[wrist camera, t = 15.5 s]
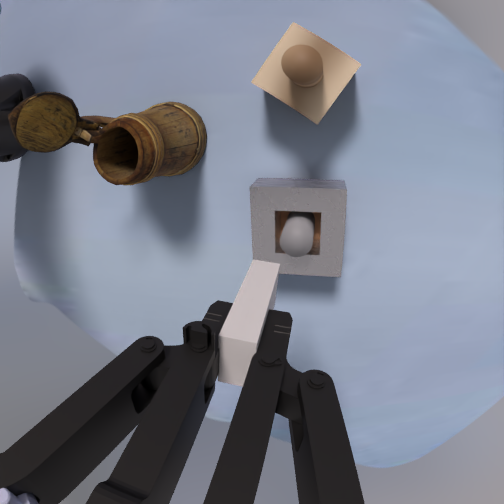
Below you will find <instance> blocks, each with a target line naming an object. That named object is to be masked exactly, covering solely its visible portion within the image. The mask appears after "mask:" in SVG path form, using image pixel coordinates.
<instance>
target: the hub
mask: <svg viewBox="0 0 504 504" xmlns="http://www.w3.org/2000/svg"><path fill="white" fill-rule="evenodd" d="M320 235H321V212H300V211H281V237H280V246H281V248H282V250H283V251H284V252H285V253H286V254H288V255H290V256H292V257H301V256H304V255H306V254H307V253H308V252H309V251H310V250H311V248H312V245H313V239H315V240H320Z"/></svg>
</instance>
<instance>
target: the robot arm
mask: <svg viewBox="0 0 504 504" xmlns="http://www.w3.org/2000/svg"><path fill="white" fill-rule="evenodd" d="M0 13H1V4H0ZM34 94H35V92H34V89H33V86H32V84H31V82H30V81H29V80H28V78H26V77H25V76H24V75H22V74H8V75H4V76H2V77H0V162H8V161H12V160H14V159H18V158H20V157H21V156H23V155H24V154H25V153H26V151H27V149H25V148H22V147H21V146H20V145H19V144H18V142H17V141H16V139H15V137H14V135H13V132H12V130H11V127H10V123H9V119H8V115H9V114H10V112H11V111H12V110H13V109H14V108H15V107H16V106H17V105H19V104H20V103H21V102H22V101H23V100H25V99H26V98H28V97H30V96H32V95H34ZM279 269H280V264H278V263H272V262H266V261H260V260H254V259H253V261H252V263H251V265H250V268H249V270H248V272H247V274H246V276H245V279H244V281H243V283H242V285H241V287H240V290H239V292H238V294H237V296H236V298H235V301H234V303H229V302H224V301H216V302H215V303H213V304H212V305H211V306H210V307H209V309H208V311H207V313H206V315H205V316H204V319H203V320H202V321H195V322H190V323H188V324H186V325H185V326H184V327H183V338H184V344H182V345H177V346H164V344H163V342H162V340H160V339H159V338H157V337H154V336H145V337H141V338H139V339H138V340H136V341H135V342H134V343H133V344H131V345H130V346H129V347H128V348H127V349H125V350H124V351H123V352H122V353H121V354H120V355H118V356H117V357H116V358H115V359H114V360H113V361H111V362H110V363H109V364H108V365H106V366H105V367H104V368H103V369H102V370H101V371H99V372H98V373H97V374H96V375H95V376H93V377H92V378H91V379H90V380H89V381H88V382H86V383H85V384H84V385H83V386H82V387H81V388H79V389H78V390H77V391H76V392H74V393H73V394H72V395H71V396H70V397H69V398H67V399H66V400H65V401H64V402H63V403H61V404H60V405H59V406H58V407H57V408H56V409H55V410H53V411H52V412H51V413H50V414H48V415H47V416H46V417H45V418H44V419H43V420H41V421H40V422H39V423H38V424H37V425H36V426H34V427H33V428H32V429H31V430H30V431H29V432H27V433H26V434H25V435H24V436H23V437H21V438H20V439H19V440H18V441H17V442H16V443H14V444H13V445H12V446H11V447H10V448H9V449H7V450H6V451H5V452H3V453H0V504H58V503H60V502H61V501H62V500H63V499H64V498H66V497H67V496H68V495H69V494H70V493H71V492H72V491H73V490H74V489H75V488H76V487H77V486H78V485H79V484H80V483H81V482H82V481H83V480H84V479H85V478H86V477H87V476H88V475H89V474H90V473H91V472H92V471H93V470H94V469H95V468H96V467H97V466H98V465H99V464H100V463H101V462H102V461H103V460H104V459H105V458H106V457H107V456H108V455H109V454H110V453H111V452H112V451H113V450H114V448H115V447H117V445H118V444H119V443H120V442H121V441H122V440H123V439H124V438H125V437H126V436H127V435H128V434H129V433H130V432H131V431H132V430H133V429H134V428H135V427H136V426H137V425H138V426H137V428H136V430H135V432H134V433H133V435H132V437H131V439H130V441H129V443H128V444H127V446H126V448H125V450H124V452H123V453H122V455H121V457H120V459H119V461H118V463H117V465H116V467H115V468H114V470H113V472H112V474H111V476H110V477H109V479H108V480H107V481H104V482H100V483H99V484H98V485H97V486H96V487H95V489H94V490H93V492H92V493H91V495H90V497H89V499H88V501H87V502H86V504H169V502H170V500H171V497H172V495H173V493H174V490H175V488H176V485H177V483H178V481H179V478H180V476H181V473H182V471H183V468H184V466H185V463H186V461H187V458H188V456H189V453H190V451H191V448H192V446H193V444H194V441H195V438H196V436H197V434H198V431H199V428H200V426H201V424H202V421H203V418H204V416H205V413H206V411H207V408H208V406H209V403H210V401H211V398H212V396H213V393H214V391H215V381H216V378H217V376H218V381H220V382H224V383H229V384H233V385H238V386H243V388H242V391H241V394H240V397H239V400H238V403H237V406H236V409H235V412H234V415H233V418H232V421H231V425H230V428H229V431H228V434H227V437H226V440H225V443H224V445H223V448H222V451H221V454H220V457H219V460H218V463H217V466H216V469H215V472H214V475H213V478H212V480H211V483H210V486H209V489H208V492H207V495H206V498H205V500H204V503H203V504H253V503H254V500H255V495H256V492H257V488H258V483H259V480H260V475H261V472H262V467H263V463H264V459H265V455H266V450H267V446H268V442H269V437H270V433H271V428H272V424H273V419H274V415H275V413H277V414H280V415H282V416H284V417H286V418H288V419H289V427H290V435H291V443H292V450H293V458H294V465H295V474H296V482H297V490H298V498H299V504H364V500H363V495H362V491H361V487H360V482H359V479H358V474H357V470H356V466H355V462H354V458H353V454H352V450H351V446H350V442H349V438H348V435H347V431H346V427H345V423H344V419H343V416H342V412H341V408H340V404H339V401H338V397H337V393H336V390H335V386H334V383H333V380H332V378H331V377H330V376H329V375H328V374H327V373H325V372H323V371H320V370H309V371H306V372H304V373H302V372H299V371H297V370H295V369H293V368H292V367H291V366H290V365H289V363H288V362H287V359H286V354H287V349H288V344H289V338H290V332H291V327H292V321H293V320H292V317H291V315H290V313H288V312H282V311H277V310H273V309H274V305H275V299H276V291H277V284H278V277H279Z"/></svg>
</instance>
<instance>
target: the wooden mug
mask: <svg viewBox="0 0 504 504" xmlns="http://www.w3.org/2000/svg"><path fill="white" fill-rule="evenodd" d="M8 119H9V123H10V127H11V130H12V132H13V135H14V137H15V139H16V141H17V142H18V144H19V145H20V146H21V147H22V148H25V149H27V150H30V151H34V152H52V151H56V150H58V149H60V148H62V147H64V146H66V145H67V144H69V143H71V142H74V143H80V144H84V145H87V146H89V145H90V143H94V148H93V160H94V165H95V167H96V169H97V171H98V173H99V174H100V175H101V176H102V177H103V178H104V179H105V180H107V181H108V182H110V183H112V184H115V185H134V184H138V183H143V182H147V181H149V180H150V179H152V178H154V177H157V176H173V175H180V174H184V173H185V172H187V171H189V170H190V169H192V168H193V167H194V166H195V165H196V164H197V163H198V162H199V160H200V159H201V157H202V156H203V153H204V150H205V147H206V139H207V135H206V129H205V125H204V123H203V121H202V118H201V117H200V116H199V114H198V113H197V112H196V111H195V110H193V109H192V108H190V107H188V106H187V105H184V104H181V103H177V102H165V103H160V104H157V105H154V106H152V107H150V108H148V109H147V110H145V111H143V112H140V113H137V114H135V113H129V114H125V115H121V116H119V117H117V118H111V117H103V116H82V117H80V116H79V112H78V109H77V107H76V105H75V103H74V102H73V100H72V99H70V98H69V97H67V96H65V95H62V94H60V93H56V92H41V93H36V94H34V95H32V96H30V97H28V98H26V99H25V100H23V101H22V102H21V103H20V104H19V105H17V106H16V107H15V108H14V109H13V110H12V111H11V112H10V114H9V115H8ZM100 127H103V128H102V129H101V128H100Z"/></svg>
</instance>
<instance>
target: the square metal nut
mask: <svg viewBox="0 0 504 504" xmlns="http://www.w3.org/2000/svg"><path fill="white" fill-rule="evenodd" d="M346 199H347V188H346V184H345V180H323V179H293V178H258V179H257V180H256V181H255V182H254V183H253V184H252V185H251V186H250V203H251V225H252V247H253V259H254V260H260V261H266V262H272V263H278V264H280V269H279V274H294V275H310V276H328V277H341V270H342V259H343V247H344V233H345V218H346ZM281 211H300V212H321V235H320V240H315V239H313V245H312V248H311V250H310V251H309V252H308V253H307V254H306V255H304V256H301V257H292V256H290V255H288V254H286V253H285V252H284V251H283V250H282V248H281V246H280V237H281Z"/></svg>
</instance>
